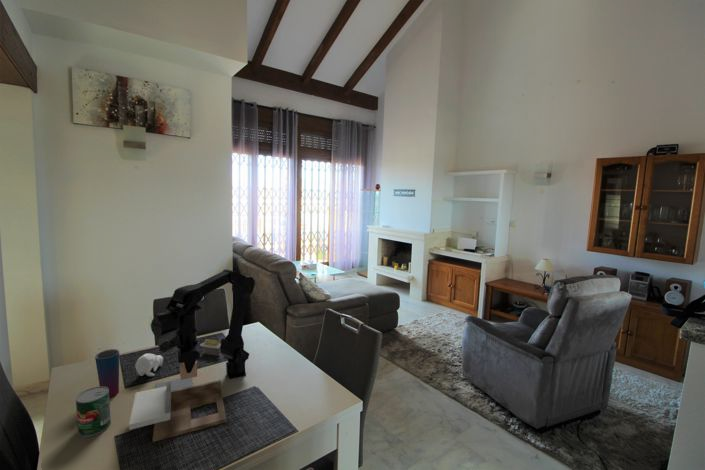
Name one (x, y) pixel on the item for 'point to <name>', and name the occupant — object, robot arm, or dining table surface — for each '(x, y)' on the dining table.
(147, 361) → the white animal figurine
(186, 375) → the block
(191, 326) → the robot arm
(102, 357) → the cup
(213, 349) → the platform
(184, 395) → the brown open box
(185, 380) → the mat
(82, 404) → the canned tomato
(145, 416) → the cover
